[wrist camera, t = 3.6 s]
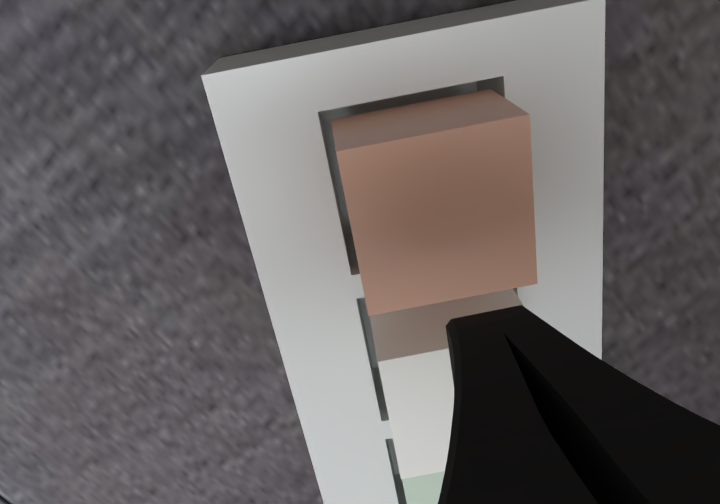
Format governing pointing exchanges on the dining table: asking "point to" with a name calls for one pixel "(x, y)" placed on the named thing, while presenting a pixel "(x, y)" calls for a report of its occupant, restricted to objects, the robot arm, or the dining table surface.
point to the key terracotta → (439, 199)
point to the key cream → (423, 376)
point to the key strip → (329, 210)
